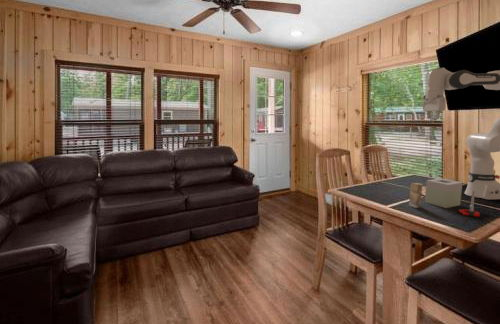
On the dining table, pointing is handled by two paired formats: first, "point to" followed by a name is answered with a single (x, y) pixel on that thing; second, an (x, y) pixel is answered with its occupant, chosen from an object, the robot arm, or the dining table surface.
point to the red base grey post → (471, 210)
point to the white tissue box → (443, 192)
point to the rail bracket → (415, 195)
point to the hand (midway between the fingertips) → (432, 118)
